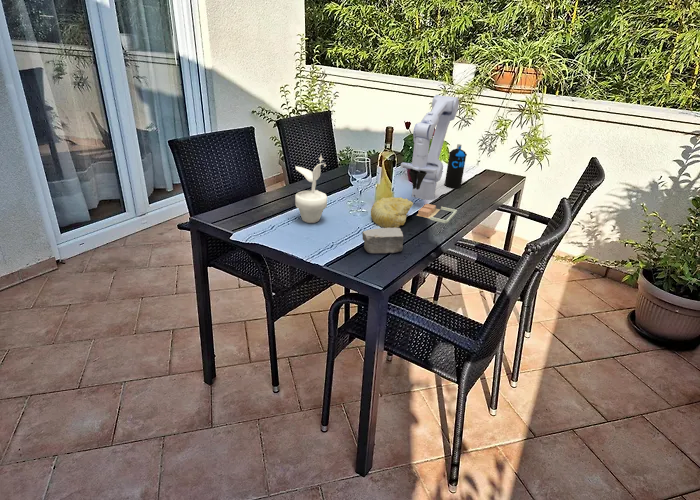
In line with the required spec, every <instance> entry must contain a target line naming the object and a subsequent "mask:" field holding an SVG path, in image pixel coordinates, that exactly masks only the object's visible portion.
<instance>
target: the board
mask: <svg viewBox="0 0 700 500" xmlns="http://www.w3.org/2000/svg"><path fill="white" fill-rule="evenodd" d="M440 211H441V208H440V209H439V208H436V209H435V211H434V212H433V213H431V215H430V216H429V217H423V216H419V215H418V213H417V214H416V216H418V217H423V218H427V219H429V220H430V217H434V216H436V215H437V214H438V213H439V212H440Z"/></svg>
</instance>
